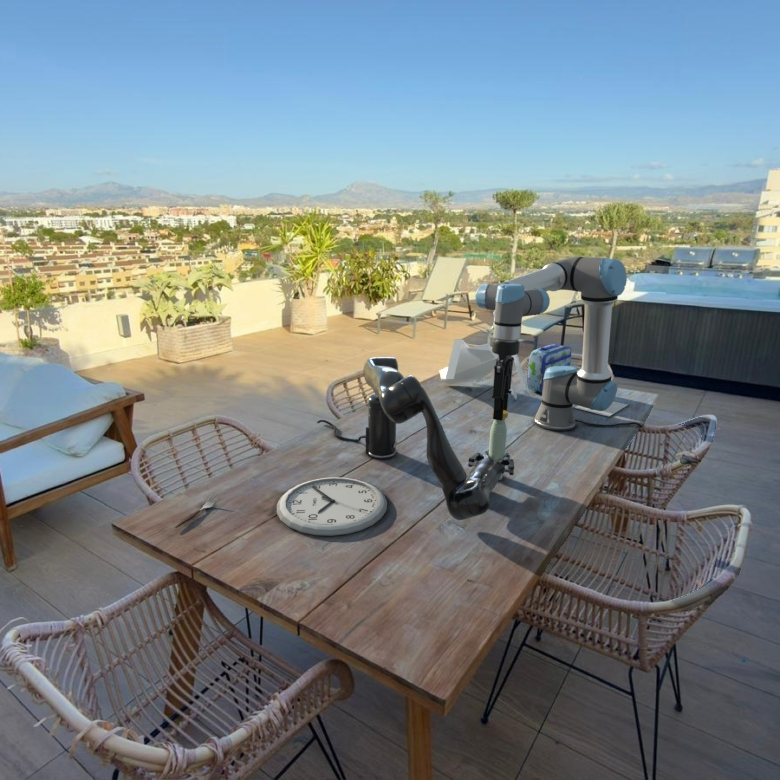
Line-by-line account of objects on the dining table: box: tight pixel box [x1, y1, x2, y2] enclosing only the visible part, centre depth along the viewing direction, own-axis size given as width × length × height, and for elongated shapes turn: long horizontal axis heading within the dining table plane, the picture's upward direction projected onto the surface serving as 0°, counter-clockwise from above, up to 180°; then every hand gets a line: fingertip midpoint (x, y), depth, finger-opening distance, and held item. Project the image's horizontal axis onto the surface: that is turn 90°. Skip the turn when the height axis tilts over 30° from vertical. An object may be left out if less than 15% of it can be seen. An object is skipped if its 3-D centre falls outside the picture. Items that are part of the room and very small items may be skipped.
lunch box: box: [526, 343, 572, 394], centre depth 247 cm, size 26×11×21 cm, turn 134°
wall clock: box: [276, 476, 388, 537], centre depth 142 cm, size 30×2×30 cm
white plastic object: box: [438, 310, 531, 400], centre depth 245 cm, size 37×45×31 cm
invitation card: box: [573, 400, 629, 418], centre depth 226 cm, size 21×1×15 cm
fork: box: [174, 492, 220, 529], centre depth 137 cm, size 3×16×2 cm, turn 160°
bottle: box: [488, 419, 508, 481], centre depth 158 cm, size 5×5×21 cm
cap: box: [492, 410, 509, 420], centre depth 155 cm, size 4×4×2 cm
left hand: (498, 454), depth 161 cm, fingers closed on bottle, 4 cm apart
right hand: (499, 416), depth 155 cm, fingers closed on cap, 4 cm apart
